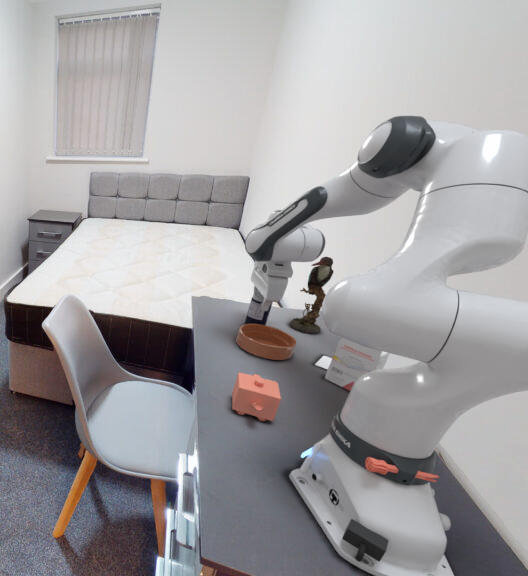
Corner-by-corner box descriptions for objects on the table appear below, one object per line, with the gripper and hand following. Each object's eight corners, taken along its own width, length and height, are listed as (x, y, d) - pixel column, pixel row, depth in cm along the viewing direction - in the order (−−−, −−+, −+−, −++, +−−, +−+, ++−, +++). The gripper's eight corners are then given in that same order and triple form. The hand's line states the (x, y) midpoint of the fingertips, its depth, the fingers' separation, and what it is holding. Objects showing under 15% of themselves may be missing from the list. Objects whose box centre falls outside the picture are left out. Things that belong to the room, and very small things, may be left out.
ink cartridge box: (373, 392, 92) (397, 341, 86) (362, 397, 90) (386, 345, 84) (333, 373, 99) (354, 325, 93) (323, 378, 97) (343, 328, 91)
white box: (314, 364, 102) (315, 362, 102) (323, 355, 107) (324, 353, 107) (351, 378, 96) (352, 376, 96) (359, 368, 101) (360, 366, 101)
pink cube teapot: (231, 421, 81) (240, 391, 78) (231, 391, 91) (239, 363, 88) (273, 434, 78) (284, 403, 75) (268, 401, 87) (278, 372, 84)
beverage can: (266, 334, 118) (277, 300, 113) (247, 332, 119) (257, 298, 114) (259, 326, 123) (269, 293, 119) (240, 324, 124) (250, 291, 120)
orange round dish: (298, 365, 102) (303, 351, 100) (241, 355, 106) (245, 342, 104) (282, 341, 114) (287, 328, 113) (231, 332, 119) (235, 320, 117)
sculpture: (280, 329, 121) (304, 257, 112) (296, 318, 129) (320, 250, 120) (309, 340, 115) (337, 264, 106) (325, 328, 123) (352, 256, 114)
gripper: (252, 252, 122) (241, 291, 128) (269, 271, 104) (256, 315, 110) (273, 255, 121) (262, 294, 126) (295, 274, 103) (280, 318, 108)
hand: (259, 304), depth 117 cm, fingers open, 8 cm apart
